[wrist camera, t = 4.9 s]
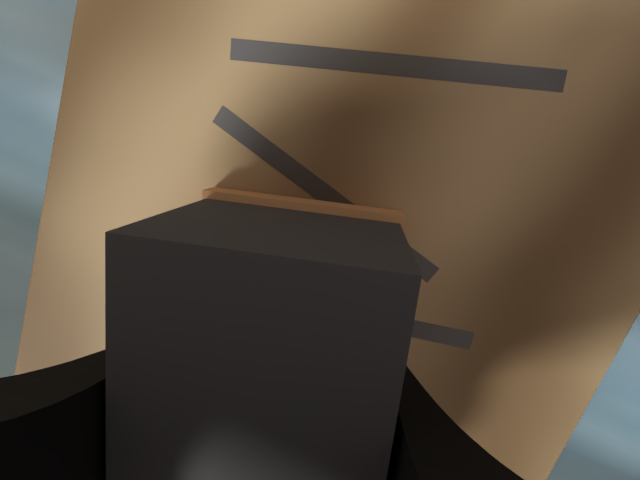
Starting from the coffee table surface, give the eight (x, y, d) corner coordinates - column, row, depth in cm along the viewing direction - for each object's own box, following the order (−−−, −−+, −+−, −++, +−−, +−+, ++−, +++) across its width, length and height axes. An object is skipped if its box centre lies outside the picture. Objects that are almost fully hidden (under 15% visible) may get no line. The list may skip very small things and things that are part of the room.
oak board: (899, -239, 9) (978, -297, 8) (457, 586, 15) (465, 625, 14) (190, -449, 10) (166, -532, 8) (29, 428, 15) (1, 451, 14)
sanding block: (402, 210, 11) (431, 263, 6) (356, 501, 13) (350, 714, 8) (213, 186, 11) (98, 218, 6) (197, 472, 13) (101, 659, 9)
